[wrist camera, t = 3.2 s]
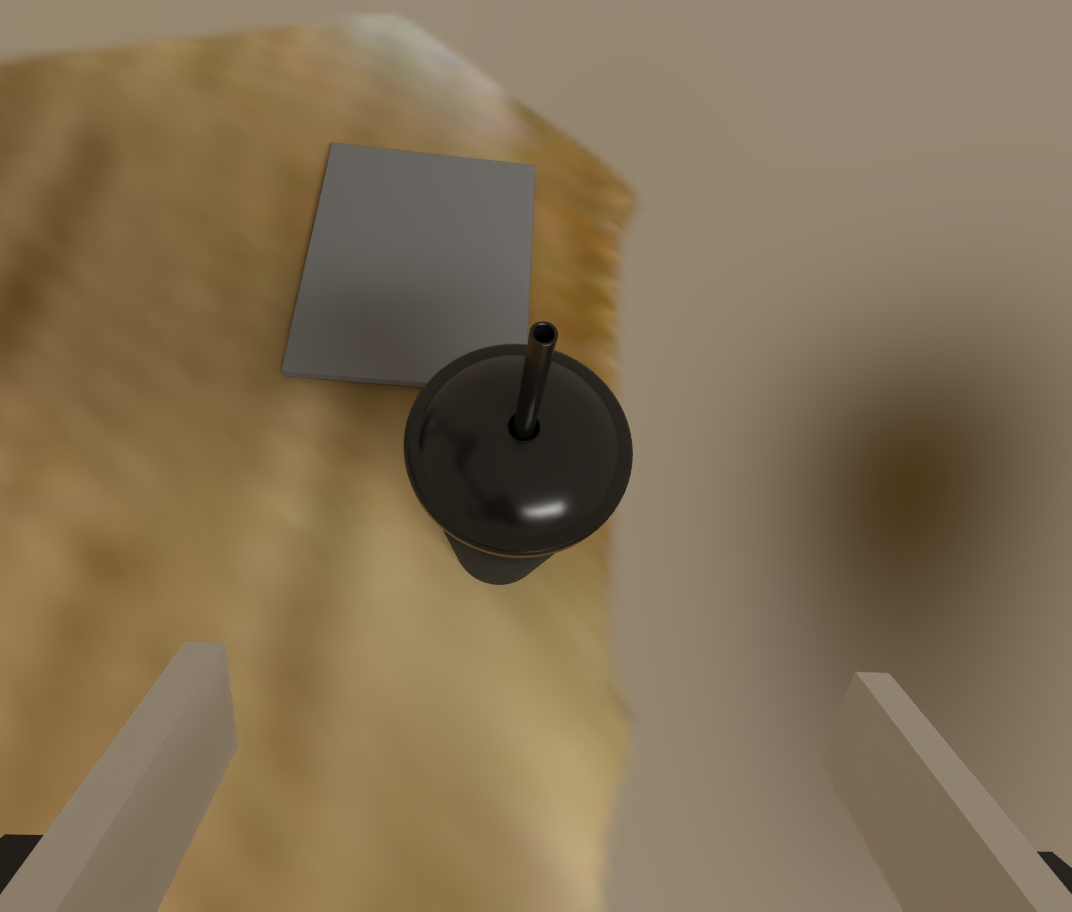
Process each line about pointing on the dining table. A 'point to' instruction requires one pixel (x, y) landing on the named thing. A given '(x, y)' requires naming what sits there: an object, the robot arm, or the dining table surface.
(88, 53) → the dining table surface
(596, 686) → the dining table surface
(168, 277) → the dining table surface
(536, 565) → the drinking cup
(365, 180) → the placemat
